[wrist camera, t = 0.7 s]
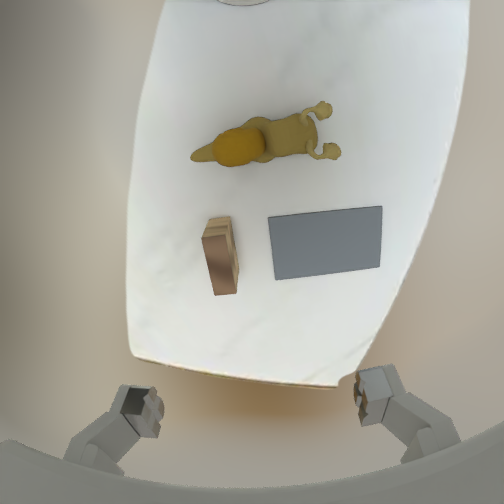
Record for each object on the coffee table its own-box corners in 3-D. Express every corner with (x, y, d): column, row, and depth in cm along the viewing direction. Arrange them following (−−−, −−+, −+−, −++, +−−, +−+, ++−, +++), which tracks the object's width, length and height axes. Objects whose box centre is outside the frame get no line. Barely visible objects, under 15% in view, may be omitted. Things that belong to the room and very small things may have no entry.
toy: (327, 150, 44) (344, 160, 35) (198, 180, 47) (185, 197, 38) (316, 102, 41) (332, 99, 32) (184, 134, 44) (166, 139, 35)
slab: (209, 219, 50) (201, 238, 43) (229, 216, 50) (225, 235, 42) (220, 270, 54) (214, 295, 47) (239, 268, 54) (236, 293, 47)
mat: (268, 217, 50) (268, 218, 49) (381, 205, 48) (382, 206, 48) (275, 279, 55) (275, 280, 54) (378, 266, 53) (379, 267, 53)
